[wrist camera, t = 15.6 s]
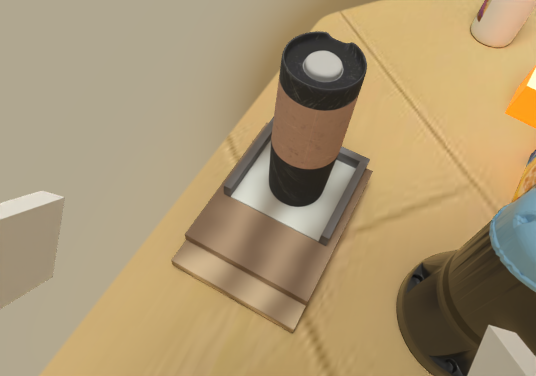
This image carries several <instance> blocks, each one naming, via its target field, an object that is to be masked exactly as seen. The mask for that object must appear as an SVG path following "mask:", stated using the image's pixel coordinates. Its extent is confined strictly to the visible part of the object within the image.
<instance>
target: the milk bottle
mask: <svg viewBox="0 0 536 376" xmlns="http://www.w3.org/2000/svg"><path fill="white" fill-rule="evenodd" d="M535 7H536V0H485V1H484V3H483V5H482V7H481V9H480V10H479V12H478V14H477V16H476V18H475V19H474V21H473V23H472V25H471V33H472V35H473V36H474V37H475V38H476V39H477V40H478V41H479V42H481V43H483V44H485V45H487V46H491V47H504V46H506V45H508V44H510V43H511V42H512V40H513V39H514V38H515V36H516V35H517V33H518V32H519V30H520V29H521V27H522V26H523V25H524V23H525V22H526V20H527V19H528V17H529V16H530V14H531V13H532V11H533V10H534V8H535Z"/></svg>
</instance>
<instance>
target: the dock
mask: <svg viewBox="0 0 536 376" xmlns="http://www.w3.org/2000/svg"><path fill="white" fill-rule="evenodd" d="M273 121H274V117H273V118H272V120H271V121H270V122H269V123H266V124H265V126H264V127H263V129H262V130H261V131H260V133H259V134H258V135H257V137H256V138H255V139H254V141H253V142H252V144H251V145H250V146H249V148H248V149H247V150H246V152H245V153H244V154H243V156H242V157H241V159H240V160H239V161H238V163H237V164H236V165H235V167H234V168H233V169H232V171H231V172H230V174H229V175H228V176H227V178H226V179H225V180H224V182H223V183H222V184H221V186H220V187H219V189H218V190H217V191H216V193H215V194H214V195H213V197H212V198H211V199H210V201H209V202H208V204H207V205H206V206H205V208H204V209H203V210H202V212H201V213H200V214H199V216H198V217H197V219H196V220H195V221H194V223H193V224H192V225H191V227H190V228H189V229H188V231H187V232H186V234H185V237H186V241H185V242H184V243H183V245H182V246H181V248H180V249H179V250H178V252H177V253H176V254H175V256H174V257H173V259H172V260H171V261H172V264H173V265H174V266H176V267H177V268H179V269H181V270H183V271H184V272H186V273H188V274H190V275H191V276H193V277H195V278H197V279H198V280H200V281H202V282H204V283H205V284H207V285H209V286H211V287H212V288H214V289H216V290H218V291H219V292H221V293H223V294H225V295H226V296H228V297H230V298H232V299H233V300H235V301H237V302H239V303H240V304H242V305H244V306H246V307H247V308H249V309H251V310H253V311H254V312H256V313H258V314H260V315H261V316H263V317H265V318H267V319H268V320H270V321H272V322H274V323H275V324H277V325H279V326H281V327H282V328H284V329H286V330H288V331H289V332H291V333H293V331H294V329H295V327H296V325H297V323H298V321H299V319H300V317H301V315H302V313H303V311H304V309H305V307H306V305H307V303H308V301H309V299H310V297H311V295H312V293H313V291H314V289H315V287H316V285H317V283H318V281H319V279H320V277H321V275H322V273H323V271H324V269H325V267H326V265H327V263H328V261H329V258H330V256H331V254H332V252H333V250H334V248H335V246H336V244H337V242H338V240H339V238H340V236H341V234H342V232H343V230H344V228H345V226H346V224H347V222H348V220H349V218H350V216H351V214H352V212H353V210H354V208H355V206H356V204H357V202H358V200H359V198H360V196H361V194H362V192H363V190H364V188H365V186H366V184H367V182H368V180H369V178H370V176H371V174H372V172H373V171H371V170H369V169H366V167H367V165H368V162H369V160H370V159H368V158H366V157H364V156H361V155H359V154H357V153H355V152H353V151H350V150H348V149H346V148H344V147H342V146H341V149H340V152H339V154H338V157H337V159H336V161H335V164H334V166H333V169H332V171H331V174H330V176H329V179H328V181H327V183H326V186H325V188H324V190H323V193H322V195H321V196H320V197H319V199H318V200H316V201H315V202H314V203H312V204H310V205H307V206H303V207H294V206H289V205H286V204H284V203H282V202H281V201H279V200H278V199H277V198H276V197H275V196H274V195H273V193H272V192H271V190H270V187H269V164H270V150H271V136H272V128H273Z"/></svg>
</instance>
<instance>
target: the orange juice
mask: <svg viewBox="0 0 536 376" xmlns="http://www.w3.org/2000/svg"><path fill="white" fill-rule="evenodd" d="M505 113H506V114H508V115H510V116H512V117H514V118H516V119H518V120H520V121H522V122H524V123H526V124H528V125H530V126H532V127H534V128H536V66H535V67H534V68H533V69H532V71H531V72H530V73H529V74H528V76H527V77H526V78H525V80H524V81H523V82H522V83H521V85H520V86H519V87H518V89H517V91H516V93H515V95H514V97H513V99H512V101H511V102H510V104H509V106H508V108H507V110H506V112H505Z"/></svg>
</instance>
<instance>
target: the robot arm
mask: <svg viewBox="0 0 536 376" xmlns="http://www.w3.org/2000/svg"><path fill="white" fill-rule="evenodd" d="M64 199H65V197H62V196H58V195H55V194H52V193H48V192H45V191H39V192H36V193H33V194H29V195H26V196H23V197H19V198H16V199H12V200H9V201H5V202H2V203H0V309H1V308H3V307H5V306H6V305H8V304H10V303H11V302H13V301H14V300H16V299H18V298H19V297H21V296H23V295H24V294H26V293H27V292H29V291H31V290H32V289H34V288H35V287H37V286H39V285H40V284H42V283H44V282H45V281H47V280H49V279H50V278H52V277H53V271H54V264H55V258H56V252H57V245H58V239H59V232H60V225H61V219H62V212H63V206H64ZM397 317H398V323H399V327H400V330H401V333H402V336H403V338H404V340H405V342H406V344H407V346H408V347H409V349H410V351H411V352H412V354H413V355H414V356H415V358H416V359H417V360H418V361H419V362H420V363H421V365H422V366H423V367H424V368H425V369H427V370H428V371H429V372H430V373H431V374H433V375H434V376H536V188H534V189H532V190H530V191H528V192H527V193H525V194H524V195H523V196H521V197H520V198H518V199H517V200H516V201H514V202H512V203H510V204H508V205H506V206H504V207H503V208H502V209H500V210H499V212H498V214H496V215H495V216H494V218H493V219H492V220H491V221H490V222H489V223H488V224H487V225H486V226H485V227H484V228H482V229H481V230H480V231H479V232H478V233H477V234H476V235H475V236H474V237H472V238H471V239H470V240H469V241H468V242H467V243H466V244H465V245H464V246H462V247H461V248H460V249H459V250H455V251H450V252H445V253H440V254H436V255H433V256H431V257H429V258H427V259H425V260H423V261H422V262H421V263H419V264H418V265H417V266H416V267H415V268H414V269H413V270H412V271H411V272H410V273H409V274H408V275H407V276H406V278H405V279H404V281H403V283H402V285H401V287H400V290H399V293H398V298H397Z"/></svg>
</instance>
